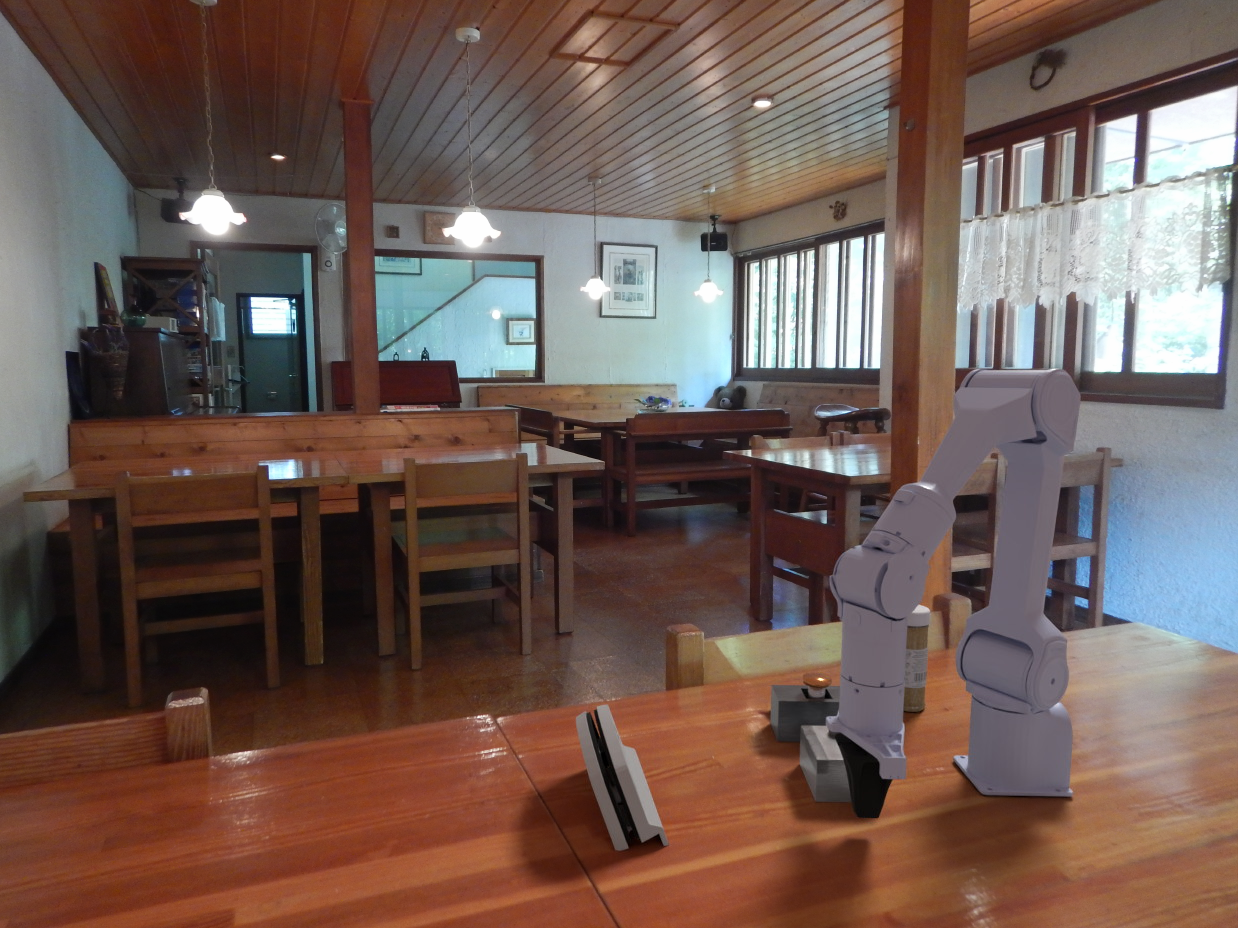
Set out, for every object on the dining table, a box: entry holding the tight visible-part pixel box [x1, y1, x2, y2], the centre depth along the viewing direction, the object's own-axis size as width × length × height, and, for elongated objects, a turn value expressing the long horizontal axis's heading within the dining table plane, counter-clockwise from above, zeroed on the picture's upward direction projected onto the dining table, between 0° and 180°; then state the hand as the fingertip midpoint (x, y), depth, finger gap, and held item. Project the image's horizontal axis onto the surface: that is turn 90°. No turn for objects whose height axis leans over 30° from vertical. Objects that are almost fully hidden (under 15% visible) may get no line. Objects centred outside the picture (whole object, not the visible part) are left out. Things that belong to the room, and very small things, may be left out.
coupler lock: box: [799, 726, 886, 804], centre depth 85 cm, size 8×7×5 cm
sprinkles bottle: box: [903, 604, 931, 713], centre depth 105 cm, size 5×5×13 cm
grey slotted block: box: [575, 704, 670, 852], centre depth 81 cm, size 17×5×10 cm, turn 8°
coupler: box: [770, 684, 840, 743], centre depth 98 cm, size 15×10×5 cm
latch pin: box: [802, 672, 833, 699], centre depth 97 cm, size 3×3×4 cm
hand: (866, 814), depth 76 cm, fingers closed
